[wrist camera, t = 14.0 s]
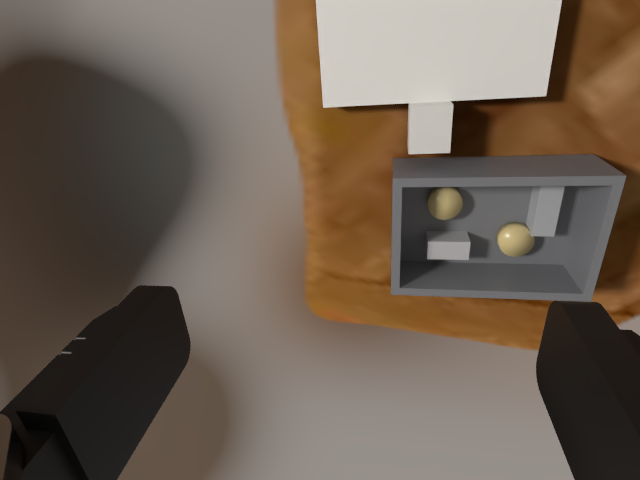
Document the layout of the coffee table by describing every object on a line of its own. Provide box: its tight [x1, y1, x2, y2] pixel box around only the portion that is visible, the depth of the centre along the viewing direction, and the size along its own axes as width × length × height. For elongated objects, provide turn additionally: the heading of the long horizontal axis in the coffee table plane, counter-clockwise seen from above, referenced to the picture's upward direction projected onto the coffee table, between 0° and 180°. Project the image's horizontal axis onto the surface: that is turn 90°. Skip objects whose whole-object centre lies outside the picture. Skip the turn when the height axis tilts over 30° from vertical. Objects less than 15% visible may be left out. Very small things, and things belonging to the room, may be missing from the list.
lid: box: [316, 0, 562, 154], centre depth 34 cm, size 17×19×4 cm
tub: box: [391, 154, 626, 302], centre depth 39 cm, size 12×18×6 cm, turn 94°
